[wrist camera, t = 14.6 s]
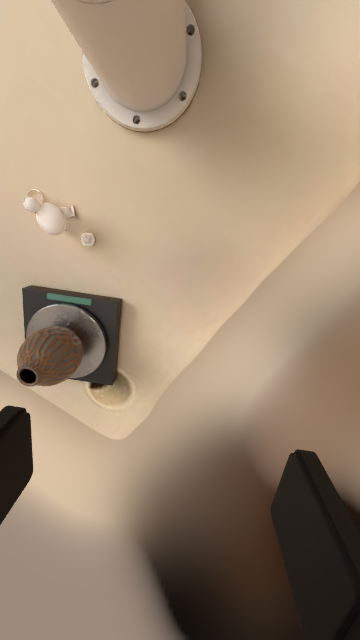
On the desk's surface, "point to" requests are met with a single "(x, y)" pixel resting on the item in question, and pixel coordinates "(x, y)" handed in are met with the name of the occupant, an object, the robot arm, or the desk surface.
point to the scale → (98, 306)
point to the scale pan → (81, 325)
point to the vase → (49, 356)
